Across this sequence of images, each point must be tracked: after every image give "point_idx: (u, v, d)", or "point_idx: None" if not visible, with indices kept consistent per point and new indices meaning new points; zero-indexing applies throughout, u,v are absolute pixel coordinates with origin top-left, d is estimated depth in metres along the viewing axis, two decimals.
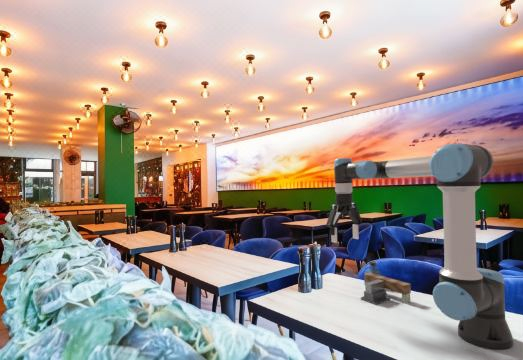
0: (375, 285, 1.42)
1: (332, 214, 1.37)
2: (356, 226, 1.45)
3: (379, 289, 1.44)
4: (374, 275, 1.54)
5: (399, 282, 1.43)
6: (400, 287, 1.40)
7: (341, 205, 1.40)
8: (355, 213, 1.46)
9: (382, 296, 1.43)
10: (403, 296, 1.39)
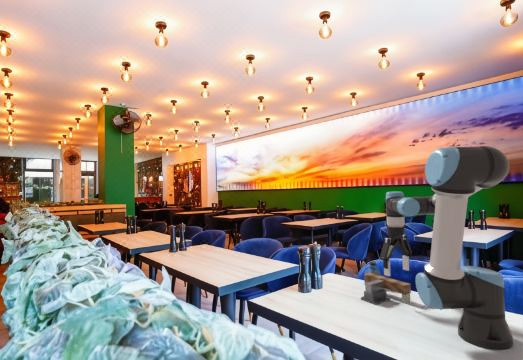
0: (375, 285, 1.42)
1: (385, 248, 1.39)
2: (407, 258, 1.47)
3: (379, 289, 1.44)
4: (374, 275, 1.54)
5: (399, 282, 1.43)
6: (400, 287, 1.40)
7: (394, 238, 1.41)
8: (405, 245, 1.47)
9: (382, 296, 1.43)
10: (403, 296, 1.39)
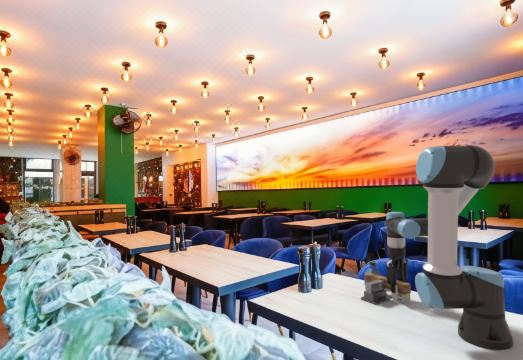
0: (375, 285, 1.42)
1: (390, 273, 1.40)
2: None
3: (379, 289, 1.44)
4: (374, 275, 1.54)
5: (399, 282, 1.43)
6: (400, 287, 1.40)
7: (394, 259, 1.41)
8: (403, 269, 1.46)
9: (382, 296, 1.43)
10: (403, 296, 1.39)
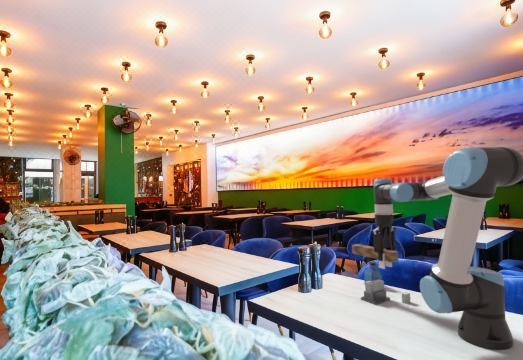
0: (375, 285, 1.42)
1: (376, 240, 1.36)
2: None
3: (379, 289, 1.44)
4: (362, 245, 1.50)
5: (386, 250, 1.39)
6: (387, 255, 1.36)
7: (381, 226, 1.37)
8: (391, 237, 1.42)
9: (382, 296, 1.43)
10: (403, 296, 1.39)
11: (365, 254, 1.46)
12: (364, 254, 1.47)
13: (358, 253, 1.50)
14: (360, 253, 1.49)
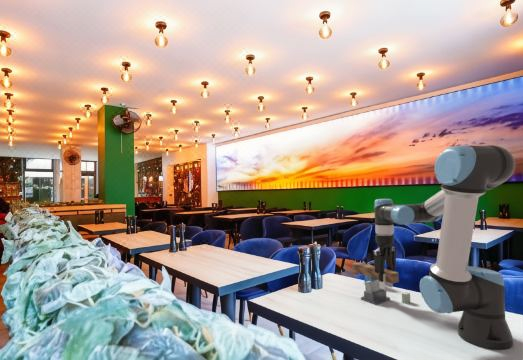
0: (375, 285, 1.42)
1: (377, 261, 1.36)
2: None
3: (379, 289, 1.44)
4: (362, 264, 1.50)
5: (387, 271, 1.38)
6: (388, 276, 1.36)
7: (382, 247, 1.37)
8: (392, 257, 1.42)
9: (382, 296, 1.43)
10: (403, 296, 1.39)
11: (366, 273, 1.46)
12: (365, 273, 1.46)
13: (359, 272, 1.49)
14: (361, 272, 1.48)
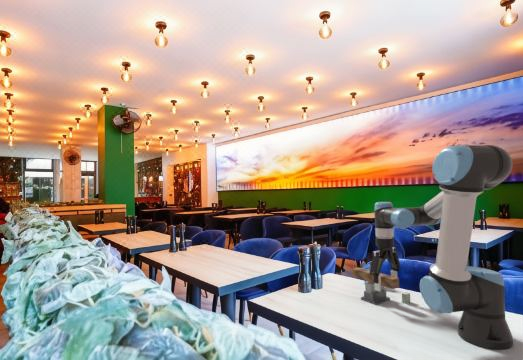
0: None
1: (375, 262, 1.35)
2: (395, 273, 1.41)
3: None
4: (362, 270, 1.50)
5: (387, 276, 1.38)
6: (388, 281, 1.36)
7: (382, 250, 1.37)
8: (394, 258, 1.43)
9: (382, 296, 1.43)
10: (403, 296, 1.39)
11: (366, 279, 1.46)
12: (365, 279, 1.46)
13: (359, 277, 1.49)
14: (361, 277, 1.48)
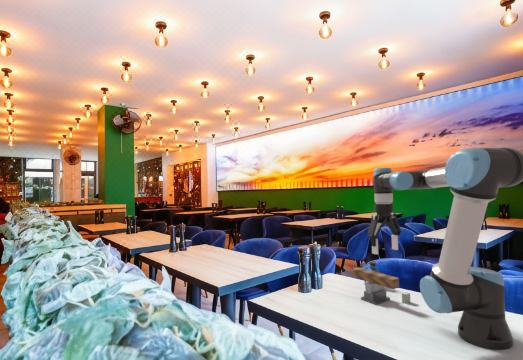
0: (375, 285, 1.42)
1: (373, 225, 1.35)
2: (395, 237, 1.42)
3: (379, 289, 1.44)
4: (362, 270, 1.50)
5: (387, 276, 1.38)
6: (388, 281, 1.36)
7: (382, 216, 1.37)
8: (394, 223, 1.43)
9: (382, 296, 1.43)
10: (403, 296, 1.39)
11: (366, 279, 1.46)
12: (365, 279, 1.46)
13: (359, 277, 1.49)
14: (361, 277, 1.48)
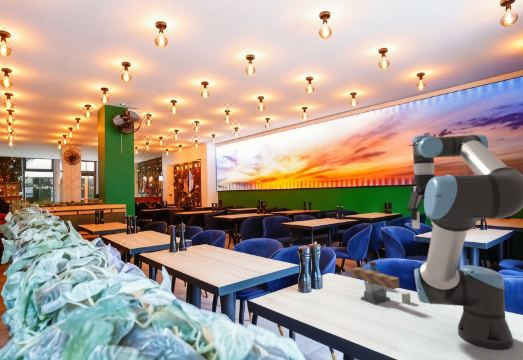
0: (375, 285, 1.42)
1: (414, 197, 1.24)
2: None
3: (379, 289, 1.44)
4: (362, 270, 1.50)
5: (387, 276, 1.38)
6: (388, 281, 1.36)
7: (423, 187, 1.26)
8: None
9: (382, 296, 1.43)
10: (403, 296, 1.39)
11: (366, 279, 1.46)
12: (365, 279, 1.46)
13: (359, 277, 1.49)
14: (361, 277, 1.48)
